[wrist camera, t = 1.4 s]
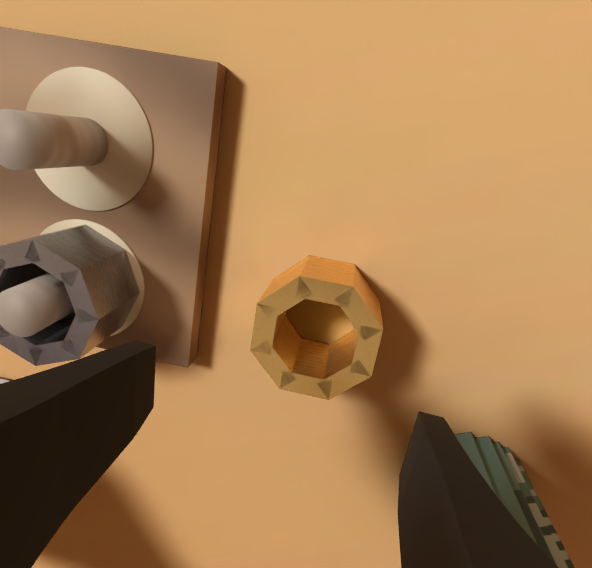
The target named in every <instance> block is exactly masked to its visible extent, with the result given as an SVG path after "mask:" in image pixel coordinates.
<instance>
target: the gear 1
mask: <svg viewBox="0 0 592 568" xmlns="http://www.w3.org/2000/svg"><path fill="white" fill-rule="evenodd" d="M47 273H50V274H51V275H53V276H55V277H56V278H58V279H59V280H61V281H62V282H64V285H65V287H66V290H67V293H68V295H69V298H70V300H71V303H72V306H73V308H74V312H72V313H71V314H69V315H67V316H65V317H63V318H62V319H60V320H58V321H56V322H55V323H53V324H51V325H49V326H48V327H46V328H44V329H42V330H41V331H39V332H37V333H35V334H33V335H31V336H28V337H19V336H15V335H13V334H11V333H9V332H8V331H6V330H5V329H4V328H3V327H2V326H1V325H0V344H1V345H3V346H4V347H6V348H8V349H9V350H11V351H12V352H14V353H16V354H17V355H19V356H21V357H22V358H24V359H25V360H27V361H29V362H30V363H32V364H33V365H35V366H38V365H44V364H50V363H56V362H62V361H69V360H75V359H80V358H81V357H82V356H84V355H85V354H86V353H88V352H89V351H90V350H92V349H93V348H94V347H96V346H97V345H98V344H100V343H101V342H102V341H104V340H105V339H106V338H108V337H109V336H110V335H112V334H113V333H114V332H116V331H117V330H118V329H120V328H121V327H122V326H123V324H124V322H125V320H126V319H127V317H128V315H129V313H130V311H131V309H132V307H133V305H134V303H135V301H136V300H137V298H138V296H139V294H140V291H139V288H138V285H137V282H136V279H135V276H134V273H133V270H132V267H131V264H130V261H129V258H128V255H127V252H126V250H125V249H124V248H122V247H121V246H119V245H118V244H116V243H114V242H113V241H111V240H110V239H108V238H107V237H105V236H103V235H102V234H100V233H99V232H97V231H96V230H94V229H92V228H91V227H89V226H88V225H86V224H85V225H81V226H77V227H72V228H68V229H64V230H59V231H55V232H51V233H46V234H43V235H39V236H35V237H31V238H28V239H24V240H20V241H17V242H13V243H9V244H5V245H2V246H0V293H1V292H2V291H4V290H6V289H9V288H12V287H14V286H17V285H19V284H22V283H24V282H27V281H29V280H32V279H34V278H37V277H39V276H42V275H44V274H47Z"/></svg>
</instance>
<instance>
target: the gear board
mask: <svg viewBox="0 0 592 568" xmlns="http://www.w3.org/2000/svg"><path fill="white" fill-rule="evenodd" d="M226 70H227V68H226V67H225V66H223V65H222V64H220V63H218V62H213V61H207V60H201V59H195V58H188V57H182V56H176V55H170V54H164V53H158V52H152V51H146V50H139V49H133V48H127V47H121V46H115V45H109V44H103V43H97V42H90V41H84V40H78V39H72V38H66V37H60V36H54V35H47V34H41V33H35V32H29V31H23V30H17V29H11V28H5V27H0V246H2V245H5V244H9V243H13V242H17V241H20V240H24V239H28V238H31V237H35V236H39V235H43V234H46V233H51V232H55V231H59V230H64V229H68V228H72V227H77V226H81V225H85V224H86V225H88V226H89V227H91V228H92V229H94V230H96V231H97V232H99V233H100V234H102V235H103V236H105V237H107V238H108V239H110V240H111V241H113V242H114V243H116V244H118V245H119V246H121V247H122V248H124V249H125V250H126V252H127V255H128V258H129V261H130V264H131V267H132V270H133V273H134V276H135V279H136V282H137V285H138V288H139V291H140V294H139V296H138V298H137V300H136V301H135V303H134V305H133V307H132V309H131V311H130V313H129V315H128V317H127V319H126V320H125V322H124V324H123V326H122V327H121V328H120V329H118V330H117V331H116V332H114V333H113V334H112V335H110V336H109V337H108V338H106V339H105V340H104V341H102V342H101V343H100V344H98V345H97V346H96V347H99V348H103V349H110V348H113V347H116V346H119V345H122V344H125V343H128V342H132V341H140V342H144V343H148V344H152V345H156V359H155V360H157V361H161V362H166V363H170V364H175V365H179V366H184V367H189V366H190V364H191V363H192V362H193V361H194V359H195V358H196V357H197V348H198V338H199V329H200V319H201V309H202V300H203V290H204V281H205V271H206V262H207V252H208V242H209V233H210V223H211V214H212V204H213V195H214V185H215V175H216V166H217V156H218V147H219V137H220V128H221V118H222V108H223V99H224V89H225V80H226ZM72 312H74V308H73V306H72V303H71V300H70V298H69V295H68V293H67V290H66V287H65V285H64V282H62V281H61V280H59V279H58V278H56V277H55V276H53V275H51V274H50V273H47V274H44V275H42V276H39V277H37V278H34V279H32V280H29V281H27V282H24V283H22V284H19V285H17V286H14V287H12V288H9V289H6V290H4V291H2V292H1V293H0V325H1V326H2V327H3V328H4V329H5V330H6V331H8V332H9V333H11V334H13V335H15V336H19V337H28V336H31V335H33V334H35V333H37V332H39V331H41V330H42V329H44V328H46V327H48V326H49V325H51V324H53V323H55V322H56V321H58V320H60V319H62V318H63V317H65V316H67V315H69V314H71V313H72Z"/></svg>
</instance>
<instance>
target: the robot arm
mask: <svg viewBox="0 0 592 568" xmlns="http://www.w3.org/2000/svg"><path fill="white" fill-rule="evenodd" d="M155 359H156V345H152V344H148V343H144V342H140V341H132V342H128V343H125V344H122V345H119V346H116V347H113V348H110V349H107V350H104V351H101V352H99V353H96V354H93V355H90V356H87V357H84V358H82V359H79V360H76V361H73V362H70V363H67V364H64V365H61V366H58V367H55V368H52V369H49V370H45V371H42V372H39V373H36V374H33V375H30V376H26V377H23V378H20V379H16V380H13V381H9V380H5V379H1V378H0V568H31V567H32V566H33V564H34V563H35V561H36V560H37V558H38V557H39V555H40V554H41V553H42V551H43V550H44V548H45V547H46V545H47V544H48V543H49V541H50V540H51V538H52V537H53V536H54V534H55V533H56V531H57V530H58V528H59V527H60V526H61V524H62V523H63V521H64V520H65V519H66V518H67V516H68V515H69V514H70V513H71V511H72V510H73V509H74V507H75V506H76V505H77V504H78V503H79V501H80V500H81V499H82V498H83V497H84V496H85V494H86V493H87V492H88V491H89V490H90V489H91V487H92V486H93V485H94V484H95V483H96V482H97V480H98V479H99V478H100V477H101V476H102V475H103V473H104V472H105V471H106V470H107V469H108V468H109V466H110V465H111V464H112V463H113V462H114V461H115V459H116V458H117V457H118V456H119V455H120V454H121V452H122V451H123V450H124V449H125V448H126V446H127V445H128V444H129V443H130V442H131V440H132V439H133V438H134V436H135V435H136V434H137V432H138V431H139V429H140V428H141V426H142V425H143V423H144V421H145V420H146V418H147V417H148V415H149V413H150V412H151V410H152V409H153V405H154V382H155ZM398 524H399V539H400V553H401V567H402V568H558V567H557V566H556V565H555V563H554V562H553V561H552V560H551V559H550V558H549V557H548V556H547V555H546V554H545V553H544V552H543V550H542V549H541V548H540V547H539V546H538V545H537V544H536V543H535V542H534V541H533V539H532V538H531V537H530V536H529V535H528V534H527V533H526V532H525V530H524V529H523V528H522V527H521V526H520V525H519V523H518V522H517V521H516V520H515V519H514V517H513V516H512V515H511V514H510V512H509V511H508V510H507V508H506V507H505V506H504V505H503V503H502V502H501V501H500V500H499V498H498V497H497V496H496V494H495V493H494V492H493V490H492V489H491V488H490V486H489V485H488V484H487V482H486V481H485V479H484V478H483V477H482V475H481V474H480V472H479V471H478V470H477V468H476V467H475V465H474V464H473V462H472V461H471V459H470V458H469V456H468V455H467V453H466V452H465V450H464V449H463V447H462V446H461V444H460V443H459V441H458V439H457V438H456V436H455V435H454V433H453V432H452V430H451V429H450V427H449V425H448V424H447V422H446V421H445V419H444V418H443V417H439V416H435V415H431V414H427V413H423V412H419V413H418V416H417V419H416V423H415V426H414V429H413V432H412V436H411V439H410V442H409V446H408V449H407V452H406V455H405V459H404V462H403V465H402V468H401V472H400V478H399V496H398Z"/></svg>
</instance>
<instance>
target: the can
mask: <svg viewBox="0 0 592 568" xmlns="http://www.w3.org/2000/svg"><path fill="white" fill-rule="evenodd" d="M454 435H455V436H456V438H457V439H458V441H459V443H460V444H461V446H462V447H463V449H464V450H465V452H466V453H467V455H468V456H469V458H470V459H471V461H472V462H473V464H474V465H475V467H476V468H477V470H478V471H479V472H480V474H481V475H482V477H483V478H484V479H485V481H486V482H487V484H488V485H489V486H490V488H491V489H492V490H493V492H494V493H495V494H496V496H497V497H498V498H499V500H500V501H501V502H502V503H503V505H504V506H505V507H506V508H507V510H508V511H509V512H510V514H511V515H512V516H513V517H514V519H515V520H516V521H517V522H518V523H519V525H520V526H521V527H522V528H523V529H524V530H525V532H526V533H527V534H528V535H529V536H530V537H531V538H532V539H533V541H534V542H535V543H536V544H537V545H538V546H539V547H540V548H541V549H542V550H543V552H544V553H545V554H546V555H547V556H548V557H549V558H550V559H551V560H552V561H553V562H554V563H555V565H556V566H557V567H558V568H574V566H573V564H572V562H571V560H570V558H569V556H568V554H567V552H566V550H565V548H564V546H563V544H562V542H561V540H560V539H559V537H558V535H557V533H556V531H555V529H554V527H553V525H552V523H551V521H550V519H549V517H548V515H547V513H546V511H545V509H544V507H543V505H542V503H541V501H540V499H539V498H538V496H537V494H536V492H535V490H534V488H533V486H532V484H531V482H530V480H529V478H528V476H527V474H526V472H525V470H524V468H523V466H522V464H521V462H520V460H514V458H513V456H512V454H511V452H510V450H509V448H501V446H500V444H499V442H495V443H492V442H491V440H490V438H489V436H488V437H481V438H473V436H472V433H471V432H468V433H461V434H454ZM399 476H400V475H399Z"/></svg>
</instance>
